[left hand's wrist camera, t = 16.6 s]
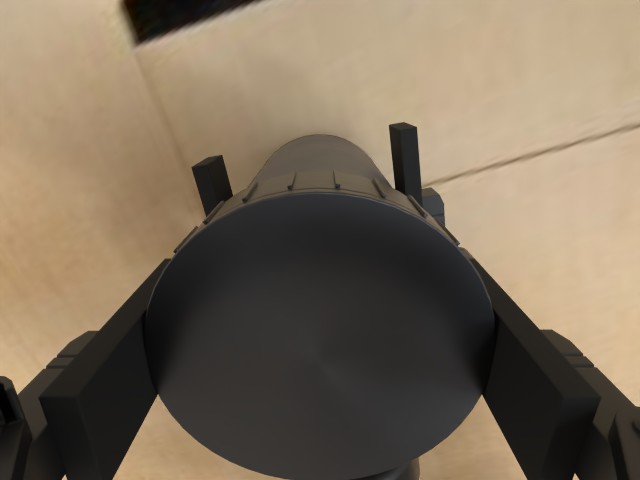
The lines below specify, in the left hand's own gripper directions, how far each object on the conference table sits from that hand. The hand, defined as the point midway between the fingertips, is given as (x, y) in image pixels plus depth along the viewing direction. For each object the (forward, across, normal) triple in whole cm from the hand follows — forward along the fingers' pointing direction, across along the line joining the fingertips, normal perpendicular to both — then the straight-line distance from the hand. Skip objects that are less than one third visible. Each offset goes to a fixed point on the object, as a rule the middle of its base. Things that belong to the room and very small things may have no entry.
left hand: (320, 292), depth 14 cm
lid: (-4, 0, 0) cm, 4 cm away
